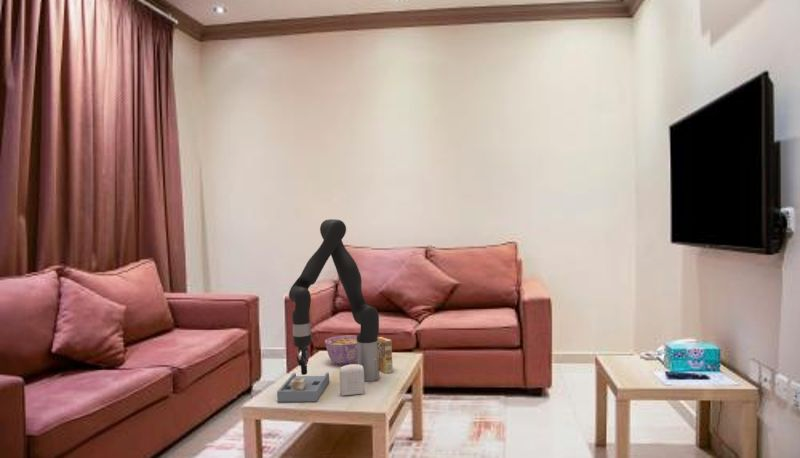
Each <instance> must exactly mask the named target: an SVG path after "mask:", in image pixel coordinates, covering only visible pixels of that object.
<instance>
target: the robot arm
mask: <svg viewBox="0 0 800 458" xmlns="http://www.w3.org/2000/svg"><path fill="white" fill-rule="evenodd" d="M319 232H320V236H321V237H322V239H323V241H322V243H321V244H320V246H319V247H318V248H317V250H316V251H315V252H314V253H313V254H312V255H311V257H310V258H309V259H308V261H307V262H306V265H305V266H304V268H303V270H302V271H301V274H300V276H299V277H298V278H296V280H295V282H294V283H293V284H292V286H291V287H290V289H289V292H288V297H289V300H290V301H291V302H293V303H294V305H295V307H294V310H292V317H291V318H292V341H293V346H294V347H297V348H298V349H297V353H296V354H297V356H296V361H297V363H298V366H299V367H300V371H301V376H307V375H308V363H309V356H310V348H309V347H308V346H310V345H312V330H311V323H310V310H311V302H312V299H311V292H310V291H309V288H310V287H311V286H312V285H315V283H316V282H317V280H318V278H319V276H320V274H321V273H322V271H323V269H324V268H325V265H326V263H327V262H328V260H329V258H330V256H331V260H332V262H333V264H334V267H335V269H336V273H337V275H338V278H339V280H340V282H341V285H342V288H343V290H344V292H345V295H346V297H347V299H348V303H349V307H350V309H351V315H352V318H353V320H354V321H355V322H356V324H358V325H360V331H359V333H358V334H357V335H356V336H357V357H358V360H357V365H362V366H363V369H364V382H374V381H378V380H379V379H380V371H379V356H378V345H377V338H378V337H379V333H380V316H379V312H378V310H377V308H375V307H374V306H372V305H368V304H367V302H366V300H365V296H364V295H363V290H362V276H361V275H362V274H361V272H360V269H359V267H358V264H357V263H356V261H355V259H354V258H353V257H352V255H351V254H350V252H349V251H348V249H347V248H346V246H345V244H344V242H343V239H344V237H345V235H346V232H347V227H346V224H345V222H344V221H342V220H340V219H334V218H333V219H332V218H331V219H325V220H324V221H322V222H321V224H320V228H319Z"/></svg>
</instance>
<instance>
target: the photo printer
mask: <svg viewBox="0 0 800 458" xmlns="http://www.w3.org/2000/svg"><path fill="white" fill-rule="evenodd" d="M364 394H365V381H364V369H363V366H362V365H358V363H352V364H349V365H342V366H340V370H339V395H340V396H341V397H343V396H354V395H355V396H356V395H364Z"/></svg>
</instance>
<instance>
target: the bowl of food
mask: <svg viewBox="0 0 800 458" xmlns="http://www.w3.org/2000/svg"><path fill="white" fill-rule="evenodd" d="M324 343H325V346H326V350H327V354H328V357H329V359H330V360H331V361H332V362H333V363H337V364H338V365H340V366H346V365H350V364H355V362H358V357H357V335H354V334H353V335H349V334H348V335H337V336H332V337H329V338H327V339H325V340H324Z"/></svg>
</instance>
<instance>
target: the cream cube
mask: <svg viewBox="0 0 800 458" xmlns="http://www.w3.org/2000/svg"><path fill="white" fill-rule="evenodd" d="M290 383H291V391H305V390H306V378H294V379H293V380H292V381H291V382H290Z"/></svg>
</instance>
